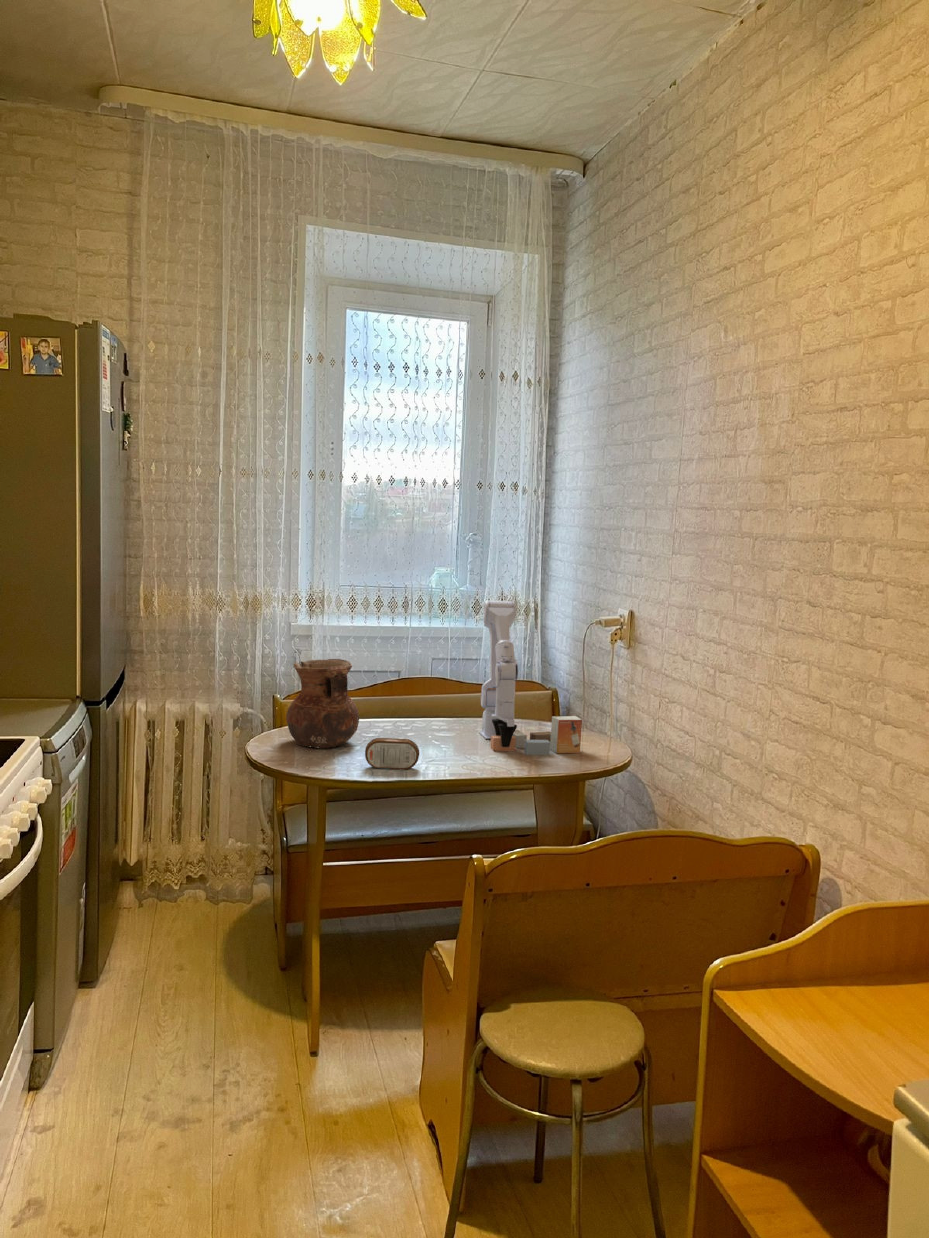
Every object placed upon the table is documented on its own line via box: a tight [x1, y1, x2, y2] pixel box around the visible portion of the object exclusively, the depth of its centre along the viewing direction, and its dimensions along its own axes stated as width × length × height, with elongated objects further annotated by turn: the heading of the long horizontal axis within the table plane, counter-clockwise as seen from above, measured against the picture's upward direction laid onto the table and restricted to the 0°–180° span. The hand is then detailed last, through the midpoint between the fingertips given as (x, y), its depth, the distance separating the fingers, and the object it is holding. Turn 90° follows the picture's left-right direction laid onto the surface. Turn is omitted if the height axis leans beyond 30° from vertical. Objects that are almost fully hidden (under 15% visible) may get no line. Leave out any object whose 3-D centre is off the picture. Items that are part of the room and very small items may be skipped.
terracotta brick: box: [490, 736, 517, 752], centre depth 281 cm, size 4×7×4 cm, turn 101°
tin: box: [364, 737, 420, 771], centre depth 254 cm, size 15×3×8 cm, turn 93°
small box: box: [550, 715, 583, 754], centre depth 282 cm, size 8×6×10 cm
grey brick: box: [513, 729, 528, 749], centre depth 287 cm, size 4×7×4 cm, turn 19°
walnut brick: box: [529, 730, 551, 742], centre depth 288 cm, size 4×7×4 cm, turn 114°
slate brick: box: [524, 739, 551, 756], centre depth 278 cm, size 4×7×4 cm, turn 98°
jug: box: [285, 658, 360, 749], centre depth 277 cm, size 22×21×25 cm
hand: (503, 744), depth 281 cm, fingers open, 5 cm apart
